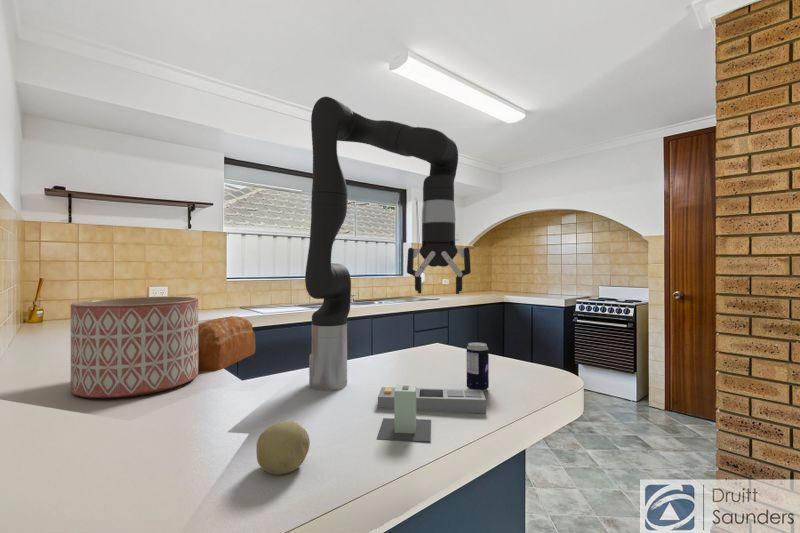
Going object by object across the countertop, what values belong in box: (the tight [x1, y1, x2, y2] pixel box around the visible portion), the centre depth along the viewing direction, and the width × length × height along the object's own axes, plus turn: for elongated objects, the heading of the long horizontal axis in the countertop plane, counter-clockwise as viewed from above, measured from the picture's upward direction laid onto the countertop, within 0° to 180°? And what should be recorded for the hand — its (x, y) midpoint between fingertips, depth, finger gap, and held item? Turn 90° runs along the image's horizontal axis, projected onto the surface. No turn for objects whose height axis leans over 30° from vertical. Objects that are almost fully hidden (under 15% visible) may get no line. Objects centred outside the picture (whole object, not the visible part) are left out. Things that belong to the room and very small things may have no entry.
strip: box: [377, 386, 487, 414], centre depth 90 cm, size 24×7×4 cm, turn 85°
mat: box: [376, 417, 432, 444], centre depth 77 cm, size 10×10×1 cm
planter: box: [70, 296, 199, 399], centre depth 102 cm, size 27×27×24 cm
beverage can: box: [466, 341, 490, 393], centre depth 102 cm, size 6×6×12 cm
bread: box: [198, 315, 256, 372], centre depth 127 cm, size 14×26×16 cm, turn 174°
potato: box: [255, 420, 311, 476], centre depth 61 cm, size 8×8×8 cm
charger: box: [393, 384, 417, 433], centre depth 77 cm, size 4×4×8 cm
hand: (438, 293), depth 88 cm, fingers open, 8 cm apart
